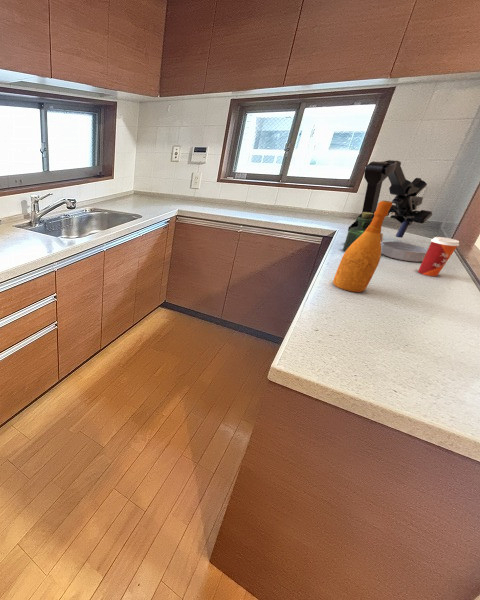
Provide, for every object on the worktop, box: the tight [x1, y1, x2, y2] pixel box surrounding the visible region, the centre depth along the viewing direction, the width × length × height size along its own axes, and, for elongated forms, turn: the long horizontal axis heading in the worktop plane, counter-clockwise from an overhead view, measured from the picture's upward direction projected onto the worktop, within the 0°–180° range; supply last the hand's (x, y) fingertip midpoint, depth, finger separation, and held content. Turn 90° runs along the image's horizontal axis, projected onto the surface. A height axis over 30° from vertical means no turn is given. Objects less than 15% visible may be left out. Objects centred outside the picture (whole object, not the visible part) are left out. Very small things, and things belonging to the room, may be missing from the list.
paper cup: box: [417, 236, 460, 277], centre depth 126 cm, size 8×8×14 cm
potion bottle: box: [342, 211, 373, 253], centre depth 147 cm, size 8×8×18 cm
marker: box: [395, 217, 409, 238], centre depth 167 cm, size 3×3×12 cm
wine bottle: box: [332, 200, 393, 293], centre depth 108 cm, size 10×10×30 cm
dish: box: [381, 240, 428, 263], centre depth 146 cm, size 16×16×4 cm
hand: (406, 224), depth 167 cm, fingers closed on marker, 3 cm apart
